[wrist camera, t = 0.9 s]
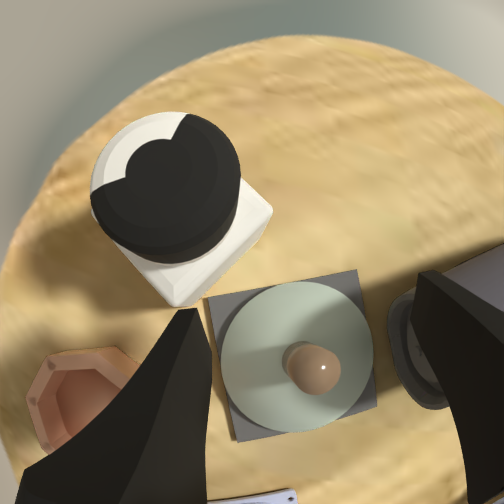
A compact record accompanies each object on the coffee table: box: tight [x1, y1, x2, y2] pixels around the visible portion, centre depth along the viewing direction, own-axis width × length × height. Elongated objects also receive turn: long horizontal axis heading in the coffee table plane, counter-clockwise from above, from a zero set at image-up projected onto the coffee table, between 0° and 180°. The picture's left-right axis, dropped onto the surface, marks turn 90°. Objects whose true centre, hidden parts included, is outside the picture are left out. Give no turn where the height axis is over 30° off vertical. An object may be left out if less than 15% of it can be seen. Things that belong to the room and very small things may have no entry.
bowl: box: [25, 346, 140, 455], centre depth 18 cm, size 10×10×4 cm
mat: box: [208, 269, 377, 443], centre depth 22 cm, size 11×11×1 cm
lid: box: [221, 282, 373, 432], centre depth 19 cm, size 11×11×5 cm
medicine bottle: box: [90, 112, 273, 307], centre depth 17 cm, size 7×7×12 cm
